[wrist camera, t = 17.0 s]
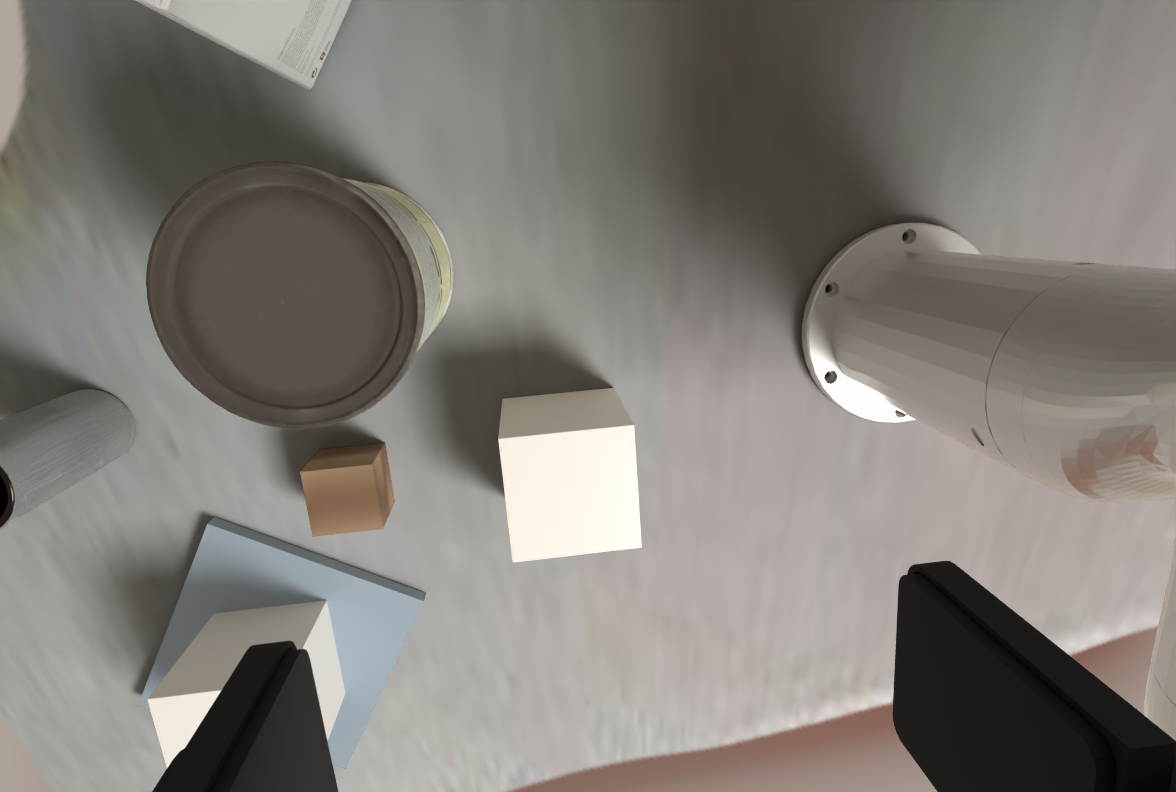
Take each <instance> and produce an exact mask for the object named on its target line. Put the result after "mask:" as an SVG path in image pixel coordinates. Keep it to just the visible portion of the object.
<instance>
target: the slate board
mask: <svg viewBox="0 0 1176 792" xmlns="http://www.w3.org/2000/svg"><path fill="white" fill-rule="evenodd" d="M425 595H426V593H424V592H421V591H419V590H416V589H413V588H410V587H408V586H405V585H402V584H399V583H396V582H394V581H391V580H388V579H385V578H383V577H380V576H377V575H374V574H372V573H369V572H366V571H363V570H360V569H358V568H355V567H352V566H349V565H347V564H344V563H341V562H338V561H335V560H333V559H330V558H327V557H324V556H322V555H319V554H316V553H313V552H311V551H308V550H305V549H302V548H299V547H297V546H294V545H291V544H288V543H286V542H283V541H280V540H277V539H274V538H272V537H269V536H266V535H263V534H261V533H258V532H255V531H252V530H250V529H247V528H244V527H241V526H238V525H236V524H233V523H230V522H227V521H225V520H222V519H219V518H216V517H214V518H213V519H212V520H211V521H210V522H209V523H208V524H207V526H206V529H205V531H204V534H203V537H202V539H201V542H200V544H199V547H198V550H197V552H196V555H195V558H194V560H193V563H192V565H191V568H190V571H189V573H188V576H187V578H186V581H185V584H184V586H183V589H182V591H181V594H180V597H179V599H178V602H177V605H176V607H175V610H174V612H173V615H172V618H171V620H170V623H169V625H168V628H167V631H166V633H165V636H164V639H163V641H162V644H161V646H160V649H159V652H158V654H157V657H156V659H155V662H154V665H153V667H152V670H151V673H150V675H149V678H148V680H147V683H146V686H145V688H144V691H143V693H142V696H141V699H140V701H139V704H138V707H141V708H144V709H147V710H150V707H149V703H148V700H147V699H148V698H149V697H150V695H151V694H152V693H153V692H154V690H155V689H156V688H157V686H158V685H159V684H160V683H161V681H162V680H163V679H164V677H165V676H166V675H167V674H168V672H169V671H170V670H171V668H172V667H173V666H174V664H175V663H176V662H177V661H178V659H179V658H180V657H181V655H182V654H183V653H184V652H185V650H186V649H187V648H188V646H189V645H190V644H191V643H192V641H193V640H194V639H195V637H196V636H197V635H198V633H199V632H200V631H201V630H202V628H203V627H204V626H205V624H206V623H207V622H208V621H209V619H210V618H211V617H212V615H213V614H214V613H222V612H230V611H239V610H247V609H256V608H264V607H273V606H281V605H290V604H299V603H307V602H316V601H324V600H327V603H328V608H329V613H330V618H331V623H332V628H333V633H334V639H335V644H336V649H337V654H338V659H339V664H340V669H341V674H342V679H343V684H344V689H345V695H344V698H343V701H342V703H341V706H340V709H339V712H338V714H337V717H336V720H335V722H334V725H333V728H332V731H331V733H330V736H329V739H328V746H329V751H330V756H331V760H332V765H333V766H337V767H340V768H343V769H346V768H347V766H348V763H349V761H350V759H351V757H352V755H353V753H354V751H355V748H356V746H357V744H358V742H359V740H360V738H361V735H362V733H363V731H364V729H365V727H366V725H367V723H368V720H369V718H370V716H371V714H372V712H373V710H374V708H375V705H376V703H377V701H378V699H379V697H380V695H381V692H382V690H383V688H384V686H385V684H386V682H387V680H388V677H389V675H390V673H391V671H392V669H393V667H394V665H395V662H396V660H397V658H398V656H399V654H400V652H401V649H402V647H403V645H404V643H405V641H406V639H407V637H408V634H409V632H410V630H411V628H412V626H413V624H414V621H415V619H416V617H417V615H418V613H419V611H420V609H421V606H422V604H423V602H424V599H425Z"/></svg>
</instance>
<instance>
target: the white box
mask: <svg viewBox="0 0 1176 792" xmlns="http://www.w3.org/2000/svg"><path fill="white" fill-rule="evenodd" d="M282 641H292V642H294V644H295V646H296V648H297V650H298V649H306V650H307V652H308V654H309V657H310V661H311V666H312V671H313V675H314V680H315V685H316V689H317V694H318V699H319V704H320V708H321V713H322V718H323V722H324V727H325V732H326V737H327V741H328V739H329V736H330V733H331V731H332V728H333V725H334V722H335V720H336V717H337V714H338V712H339V709H340V706H341V703H342V701H343V698H344V695H345V689H344V684H343V679H342V674H341V669H340V664H339V659H338V654H337V649H336V644H335V639H334V633H333V628H332V623H331V618H330V613H329V608H328V603H327V600H324V601H316V602H307V603H299V604H290V605H281V606H273V607H264V608H256V609H247V610H239V611H230V612H222V613H214V614H213V615H212V617H211V618H210V619H209V621H208V622H207V623H206V624H205V626H204V627H203V628H202V630H201V631H200V632H199V633H198V635H197V636H196V637H195V639H194V640H193V641H192V643H191V644H190V645H189V646H188V648H187V649H186V650H185V652H184V653H183V654H182V655H181V657H180V658H179V659H178V661H177V662H176V663H175V664H174V666H173V667H172V668H171V670H170V671H169V672H168V674H167V675H166V676H165V677H164V679H163V680H162V681H161V683H160V684H159V685H158V686H157V688H156V689H155V690H154V692H153V693H152V694H151V695H150V697H149V698H148V699H147V700H148V703H149V707H150V710H151V714H152V717H153V720H154V724H155V727H156V731H157V734H158V738H159V741H160V745H161V748H162V752H163V755H164V759H165V762H166V766H167V768H168V766H169V765H170V763H171V762H172V760H173V759H174V758H175V757H176V755H177V754H178V753H179V752H180V751H181V750H183V749H185V747H186V746H187V744H188V742H189V741H190V739H191V738H192V736H193V735H194V733H195V731H196V730H197V728H198V727H199V725H200V723H201V722H202V720H203V719H204V717H205V716H206V714H207V712H208V711H209V709H210V708H211V706H212V705H213V703H214V701H215V700H216V698H217V697H218V695H219V693H220V692H221V690H222V689H223V687H224V686H225V684H226V682H227V681H228V679H229V678H230V676H231V674H232V673H233V671H234V670H235V668H236V667H237V665H238V663H239V662H240V660H241V659H242V657H243V656H244V654H245V652H246V651H247V650H248V648H249V647H250V646H252V645H257V644H266V643H274V642H282Z"/></svg>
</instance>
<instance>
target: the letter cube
mask: <svg viewBox="0 0 1176 792" xmlns="http://www.w3.org/2000/svg"><path fill="white" fill-rule="evenodd" d="M300 475H301V480H302V485H303V490H304V495H305V500H306V505H307V510H308V515H309V520H310V525H311V530H312V535H313V537H314V536H323V535H332V534H341V533H350V532H359V531H368V530H377V529H383V528H384V525H385V523H386V521H387V518H388V516H389V514H390V512H391V509H392V507H393V505H394V502H395V500H394V494H393V488H392V482H391V476H390V470H389V463H388V457H387V451H386V445H385V443H377V444H367V445H357V446H348V447H338V448H328V449H319V451H318V452H317V453H316V454H315V455H314V456H313V458H312V459H311V460H310V461H309V462H308V463H307V465H306V466H305V467H304V468H303V469H302V470H301V471H300Z"/></svg>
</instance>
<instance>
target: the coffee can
mask: <svg viewBox="0 0 1176 792" xmlns="http://www.w3.org/2000/svg"><path fill="white" fill-rule="evenodd" d="M453 272H454V270H453V263H452V259H451V255H450V251H449V248H448V245H447V243H446V241H445V238H444V236H443V234H442V232H441V231H440V229H439V227H438V226H437V224H436V223H435V222H434V220H433V219H432V218H431V217H430V215H429V214H428V213H427V212H426V211H425V210H424V209H423V208H422V207H421V206H420V205H419V204H418V203H416V202H415V201H413V200H412V199H410V198H409V197H407V196H406V195H404V194H402V193H400V192H398V191H396V190H394V189H392V188H389V187H386V186H383V185H380V184H374V183H369V182H360V181H356V180H351V179H346V178H343V177H338V176H335V175H333V174H331V173H328V172H326V171H323V170H320V169H317V168H314V167H310V166H307V165H300V164H294V163H288V162H259V163H250V164H246V165H241V166H236V167H233V168H230V169H227V170H224V171H221V172H219V173H217V174H215V175H212V176H210V177H208V178H206V179H205V180H203V181H201V182H200V183H198V184H197V185H195V186H194V187H193V188H191V189H190V190H189V191H187V192H186V193H185V194H184V195H183V196H182V197H181V198H180V199H179V200H178V201H177V202H176V204H175V205H174V206H173V207H172V209H171V210H170V211H169V213H168V214H167V216H166V217H165V219H164V220H163V222H162V224H161V226H160V227H159V230H158V232H157V234H156V236H155V238H154V241H153V244H152V247H151V250H150V253H149V259H148V264H147V273H146V286H147V299H148V304H149V310H150V314H151V317H152V321H153V324H154V327H155V330H156V332H157V335H158V337H159V339H160V342H161V344H162V346H163V348H164V350H165V352H166V353H167V355H168V357H169V358H170V359H171V361H172V362H173V364H174V365H175V367H176V368H177V369H178V370H179V372H180V373H181V374H182V375H183V376H184V377H185V378H186V380H188V381H189V382H190V383H191V384H192V385H193V386H194V387H195V388H196V389H197V390H198V391H200V392H201V393H202V394H203V395H205V396H206V397H207V398H209V399H210V400H211V401H213V402H214V403H216V404H217V405H219V406H221V407H223V408H224V409H226V410H227V411H229V412H231V413H233V414H235V415H238V416H240V417H242V418H245V419H248V420H250V421H253V422H256V423H260V424H264V425H268V426H273V427H281V428H291V429H308V428H317V427H324V426H329V425H333V424H336V423H339V422H342V421H345V420H348V419H350V418H353V417H355V416H357V415H359V414H361V413H363V412H365V411H367V410H368V409H370V408H372V407H373V406H374V405H376V404H377V403H378V402H379V401H381V400H382V399H383V398H384V397H385V396H387V395H388V394H389V393H390V392H391V391H392V390H393V388H394V387H395V386H396V385H397V384H398V383H399V381H400V380H401V379H402V377H403V376H404V374H405V373H406V371H407V370H408V368H409V367H410V365H411V363H412V361H413V359H414V357H415V355H416V353H417V351H418V350H419V349H420V347H421V346H422V345H423V343H424V342H425V340H426V339H427V338H428V336H429V335H430V334H431V333H433V331H434V330H435V329H436V328H437V326H438V325H439V323H440V322H441V320H442V319H443V317H444V315H445V313H446V311H447V308H448V305H449V302H450V299H451V295H452V289H453Z"/></svg>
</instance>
